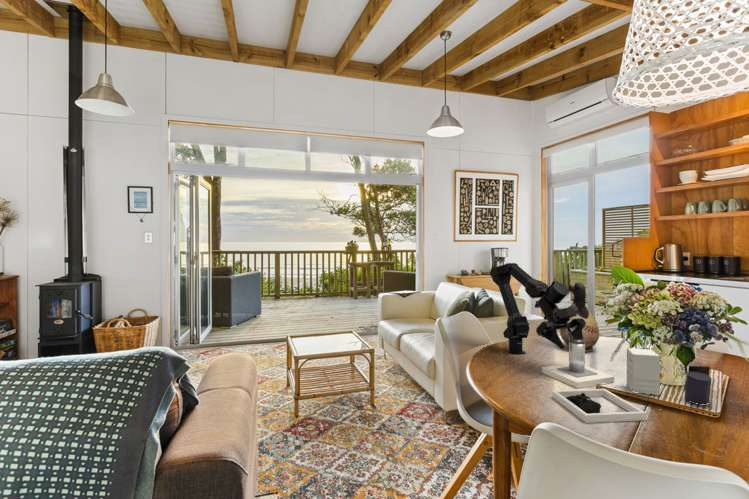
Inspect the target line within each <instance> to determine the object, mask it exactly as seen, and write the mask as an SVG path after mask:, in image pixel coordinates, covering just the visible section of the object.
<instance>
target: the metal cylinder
mask: <svg viewBox="0 0 749 499" xmlns="http://www.w3.org/2000/svg"><path fill="white" fill-rule="evenodd" d="M568 364H569V371H571V372H575V373H584V372H585V366H586V352H585V340H584V339H580V338H569V347H568Z"/></svg>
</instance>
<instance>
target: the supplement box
mask: <svg viewBox="0 0 749 499" xmlns="http://www.w3.org/2000/svg"><path fill="white" fill-rule="evenodd" d="M660 359H661V356H660V355H659V354H658V353H657V352H656V351H654V350H653V349H646V348H645V349H643V348H632V347H631V348H630V347H629V348H628V347H627V348H626V386H627V385H628V386H629V387H630V388H631V389H632V391H634V392H638V393H637V394H639V393H645V394H644V395H650V394H654V395H653V396H660V395H661V394H660V393H661V392H660V391H661V389H660V387H661V386H660V385H661V383H660V382H661V380H660V378H661V371H660V370H661V368H660V367H661V365H660V364H661V360H660ZM628 386H627V387H628ZM629 387H628V388H629ZM630 388H629V389H630ZM632 391H631V392H632Z"/></svg>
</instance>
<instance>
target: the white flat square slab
mask: <svg viewBox="0 0 749 499" xmlns="http://www.w3.org/2000/svg"><path fill="white" fill-rule="evenodd" d="M541 373H542V374H544V375H546V376H549V377H551V378H553V379H555V380H558V381H559V382H562V383H565V384H566V385H569V386H570V387H573V388H575V389H576V390H579V389H585V388H588V387H589V388H591V387H596V386H598V385H597V384H602V383H609V382H614V383H615V376H614V375H611V374H608V373H605V372H603V371H601V370H597V369H595V368H593V367H590V366H587V365H585V372H584V373H575V372H571V371H569V363H565V364H558V365H557V364H556V365H550V366H542V367H541ZM609 384H610V383H609ZM602 385H603V384H602Z"/></svg>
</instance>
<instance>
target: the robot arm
mask: <svg viewBox="0 0 749 499" xmlns="http://www.w3.org/2000/svg"><path fill="white" fill-rule="evenodd" d="M489 275H490V277H491V280H492V281H493V283H495V284H496V286H497V287H498V289H499V293H500V295H501V299H502V301H503V303H504V304H503V305H504V308H505V310H506V313H507V321H506V326H507V327H506V328H505V329H504V330H503V332H502V334H503V337H504V339H505V338H506V339H508V348H505V351H507V352H508V353H510V354H511V355H517V354H518V355H521V354H522V355H523V354H526V353H527V352H526V351H524V350H523V348H524V347H523V344H524V343H523V342H524V341H523V339H527V338H528V336H529V332H530V323H529V321H528V318H527V316H526V315H522V314H521V313H520V310H519V307H518V304H517V301H516V298H515V296H514V293H513V289H512V287H511V279H512V277H513V278H514V279H515V280H516V281H518V283H519V284H521V285H522V286H523V287H524V289H525V290H524V291H525V293H527V295H528V296H529V298H530V299H538V300H535V304H534V308H536V309H537V308H538V309H539V308H540V311H541V312H542V314H543V315H544V316H543V320H544V321H541V323H540V324H539V325H538V326H537V327H536V329H535V330H536V333H537V335H538V337H542V338H544V339H546V340H548V341H549V342H551V343H553V344H554V345H555V346H557V347H558V348H559V349H561V350H563V349H565V346H564V343H563V341H562V339H561V338H560V336H559V335H558V331H557V330H560V329H568V331H569V332H571V333H570V335H571V336H572V337H573V338H580V339H583V334H582V329H583V328H584V327H585V325H586V322H585V321H584V319H582V318H578V319H573V320H572V321H571V322H570V323H567V321H569V320H570V317H573V316H577V315H576V314H578V313H579V311H578V309H577V307H576V306H571V305H570V306H571V307H570V306H568V307H563V308H559V306H558V304H560V303H561V302H562V301H563V300H564V299H565V298H566V297H567V296H568V295H569V293H570V291H569V289H568V287H567V286H566V285H565V284H563V283H560V281H559V280H553V281H552V283H550V286H549V285H548V284H547V283H546V282H543V281H542V280H540V279H539V280H538V279H535V278H533V277H532V276H531V275H530V274H529V273H527V272H526V271H525V270H524V269H523V268H521V267H520V266H519V264H518V263H516V262H508V263H504V264H502V265H498V266H496V265H495V266H494V265H493V266H492V268H491V269H490V271H489Z"/></svg>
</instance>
